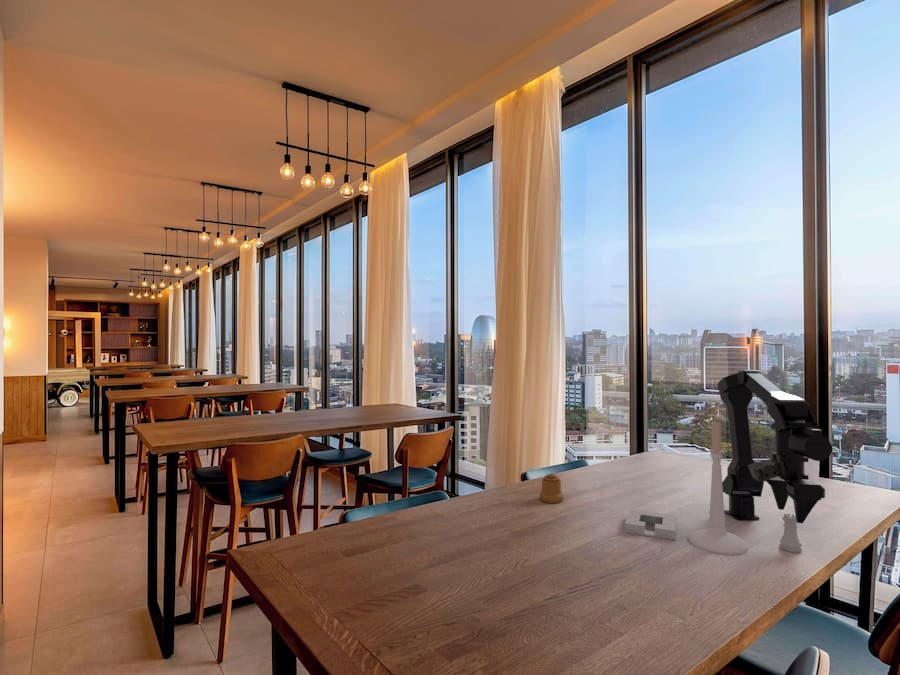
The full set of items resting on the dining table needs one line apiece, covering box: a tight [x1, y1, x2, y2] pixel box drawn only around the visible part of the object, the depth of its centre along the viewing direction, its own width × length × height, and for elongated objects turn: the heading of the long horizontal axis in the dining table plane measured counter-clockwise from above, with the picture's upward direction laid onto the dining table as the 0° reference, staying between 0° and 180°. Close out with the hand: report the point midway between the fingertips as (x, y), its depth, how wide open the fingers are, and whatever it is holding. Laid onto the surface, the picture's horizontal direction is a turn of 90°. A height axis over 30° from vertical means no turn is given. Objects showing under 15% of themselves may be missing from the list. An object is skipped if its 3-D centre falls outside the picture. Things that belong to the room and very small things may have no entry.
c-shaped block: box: [624, 508, 678, 541], centre depth 130 cm, size 12×12×2 cm
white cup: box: [802, 458, 821, 484], centre depth 170 cm, size 8×8×10 cm
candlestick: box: [687, 421, 749, 556], centre depth 120 cm, size 13×13×30 cm
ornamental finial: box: [539, 473, 565, 504], centre depth 153 cm, size 8×8×8 cm
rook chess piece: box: [779, 513, 803, 554], centre depth 117 cm, size 4×4×8 cm
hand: (790, 515), depth 117 cm, fingers open, 9 cm apart
